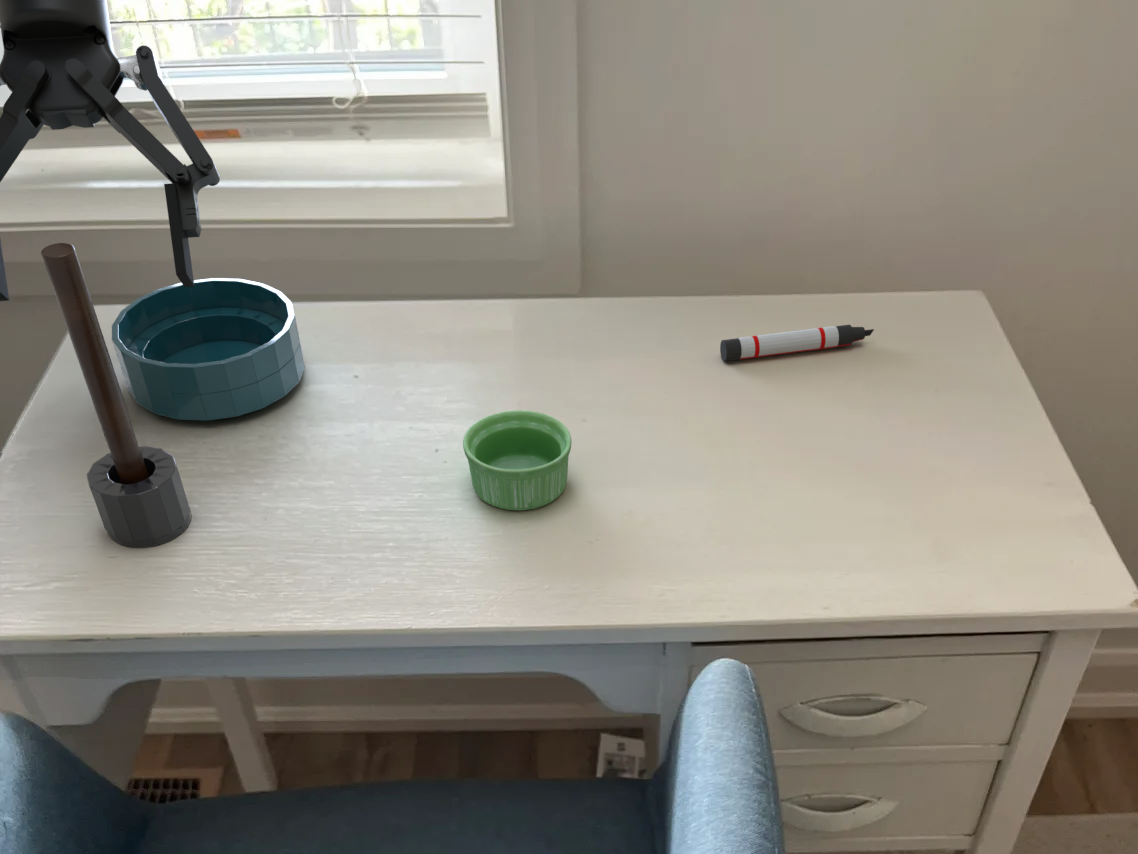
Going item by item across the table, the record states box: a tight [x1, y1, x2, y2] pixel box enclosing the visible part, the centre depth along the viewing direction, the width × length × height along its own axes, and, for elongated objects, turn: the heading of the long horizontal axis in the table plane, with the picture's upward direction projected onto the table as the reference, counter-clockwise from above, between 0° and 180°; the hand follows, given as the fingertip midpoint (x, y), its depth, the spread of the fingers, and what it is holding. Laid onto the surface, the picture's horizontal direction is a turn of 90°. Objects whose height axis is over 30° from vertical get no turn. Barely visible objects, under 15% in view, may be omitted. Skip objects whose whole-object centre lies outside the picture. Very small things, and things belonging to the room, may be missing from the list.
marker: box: [719, 324, 875, 362], centre depth 115 cm, size 15×2×2 cm, turn 103°
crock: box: [86, 445, 192, 548], centre depth 96 cm, size 7×7×5 cm
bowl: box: [111, 277, 306, 421], centre depth 111 cm, size 16×16×6 cm
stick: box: [40, 242, 149, 484], centre depth 90 cm, size 2×2×22 cm
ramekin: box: [462, 409, 572, 511], centre depth 100 cm, size 9×9×4 cm
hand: (92, 288), depth 89 cm, fingers open, 13 cm apart
